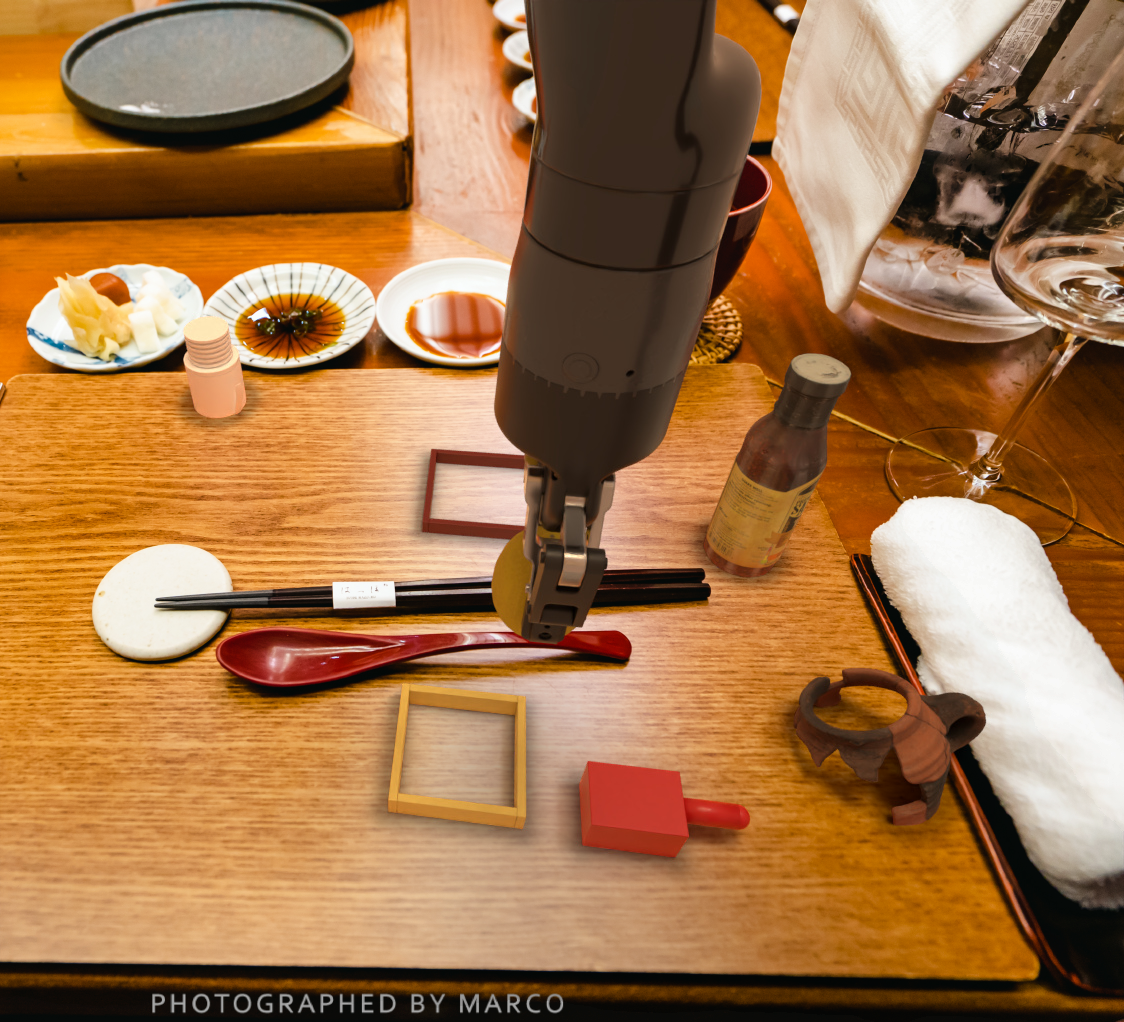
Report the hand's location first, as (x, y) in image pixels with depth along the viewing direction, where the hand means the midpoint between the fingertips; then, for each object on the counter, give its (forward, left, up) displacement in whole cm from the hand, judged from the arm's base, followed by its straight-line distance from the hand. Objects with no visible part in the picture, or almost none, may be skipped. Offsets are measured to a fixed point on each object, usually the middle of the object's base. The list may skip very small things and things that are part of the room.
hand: (540, 589), depth 44 cm
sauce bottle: (-20, -22, -20) cm, 36 cm away
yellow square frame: (+3, +1, -19) cm, 20 cm away
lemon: (0, 0, -4) cm, 4 cm away
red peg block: (-10, +4, -19) cm, 22 cm away
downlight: (+32, -38, -20) cm, 53 cm away
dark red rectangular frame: (+1, -26, -19) cm, 33 cm away
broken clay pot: (-26, -3, -20) cm, 33 cm away
